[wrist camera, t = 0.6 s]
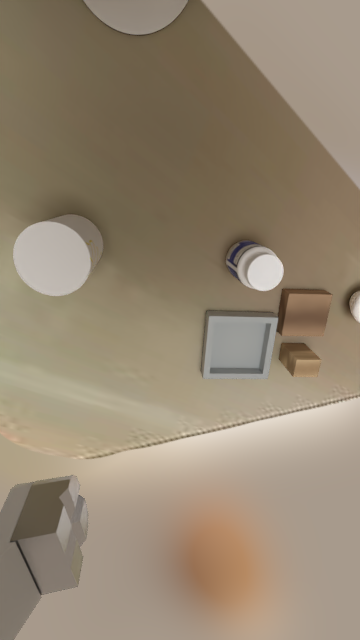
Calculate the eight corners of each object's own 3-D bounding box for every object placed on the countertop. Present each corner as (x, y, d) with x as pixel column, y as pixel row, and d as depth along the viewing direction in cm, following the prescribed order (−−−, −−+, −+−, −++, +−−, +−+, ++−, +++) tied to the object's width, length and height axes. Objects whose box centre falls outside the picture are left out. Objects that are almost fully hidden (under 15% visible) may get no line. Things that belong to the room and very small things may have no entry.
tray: (206, 310, 53) (209, 315, 51) (272, 312, 54) (278, 317, 52) (200, 371, 57) (203, 378, 55) (262, 371, 58) (267, 378, 56)
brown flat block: (281, 288, 53) (289, 293, 51) (323, 289, 54) (332, 294, 51) (274, 328, 56) (281, 335, 53) (314, 329, 57) (323, 336, 54)
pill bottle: (263, 273, 52) (289, 290, 43) (227, 280, 52) (245, 299, 42) (260, 236, 50) (286, 246, 40) (223, 243, 49) (240, 255, 40)
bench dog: (281, 343, 56) (296, 359, 51) (304, 343, 57) (321, 359, 51) (278, 358, 58) (293, 376, 52) (300, 359, 58) (317, 376, 52)
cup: (82, 283, 50) (64, 309, 38) (33, 248, 47) (-2, 266, 36) (114, 239, 48) (105, 254, 37) (65, 201, 45) (39, 204, 34)
